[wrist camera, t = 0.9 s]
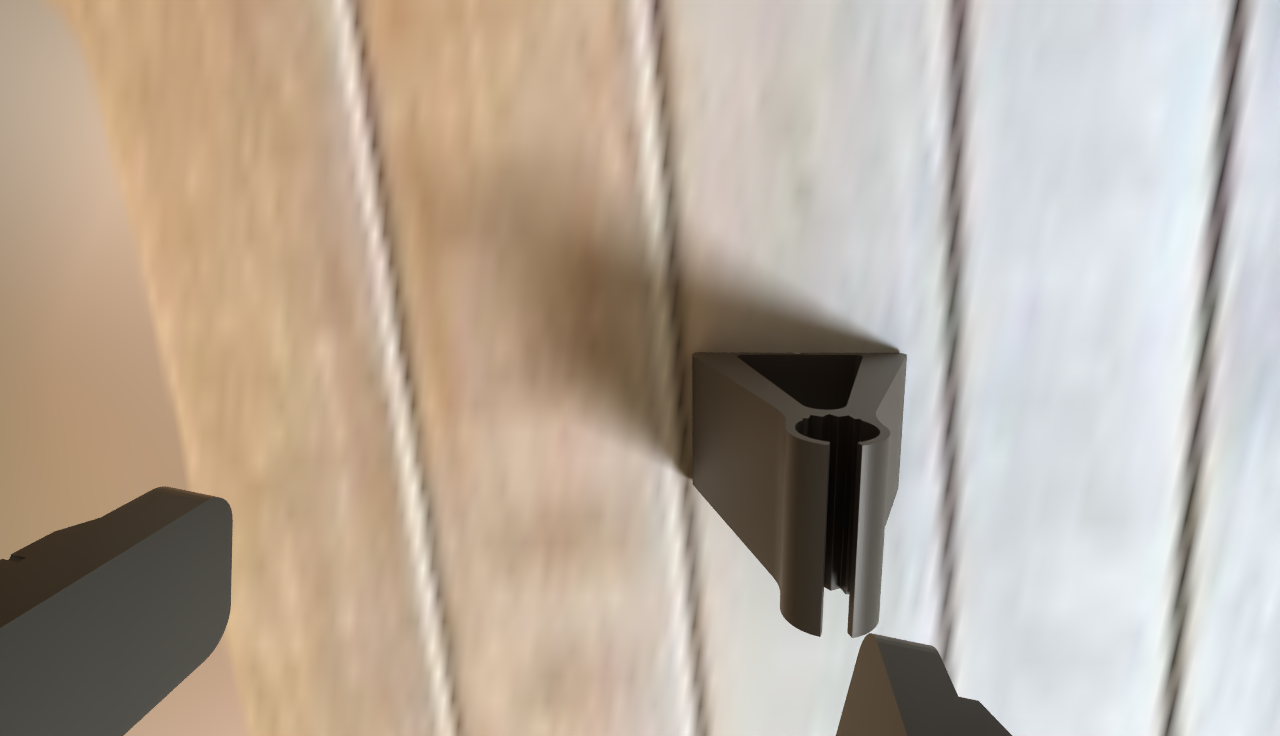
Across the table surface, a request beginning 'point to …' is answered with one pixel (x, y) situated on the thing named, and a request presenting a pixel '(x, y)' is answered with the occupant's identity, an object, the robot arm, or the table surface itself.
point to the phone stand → (804, 468)
